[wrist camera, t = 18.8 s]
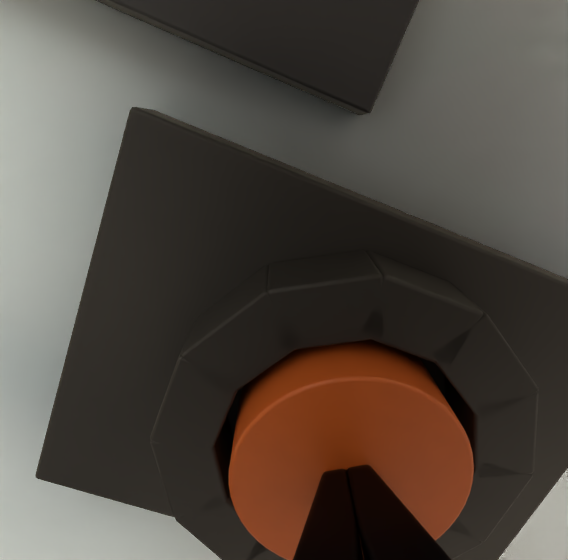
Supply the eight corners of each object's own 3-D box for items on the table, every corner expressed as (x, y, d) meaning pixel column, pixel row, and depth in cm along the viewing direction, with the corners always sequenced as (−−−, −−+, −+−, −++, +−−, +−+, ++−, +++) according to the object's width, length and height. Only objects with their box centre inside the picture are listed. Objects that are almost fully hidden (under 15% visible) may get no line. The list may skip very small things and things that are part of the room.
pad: (61, 439, 12) (-10, 538, 9) (151, 109, 9) (91, 98, 6) (448, 554, 13) (495, 670, 10) (627, 302, 10) (755, 366, 8)
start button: (212, 458, 10) (195, 537, 8) (281, 294, 9) (281, 341, 7) (382, 510, 11) (405, 596, 9) (472, 363, 9) (523, 426, 7)
